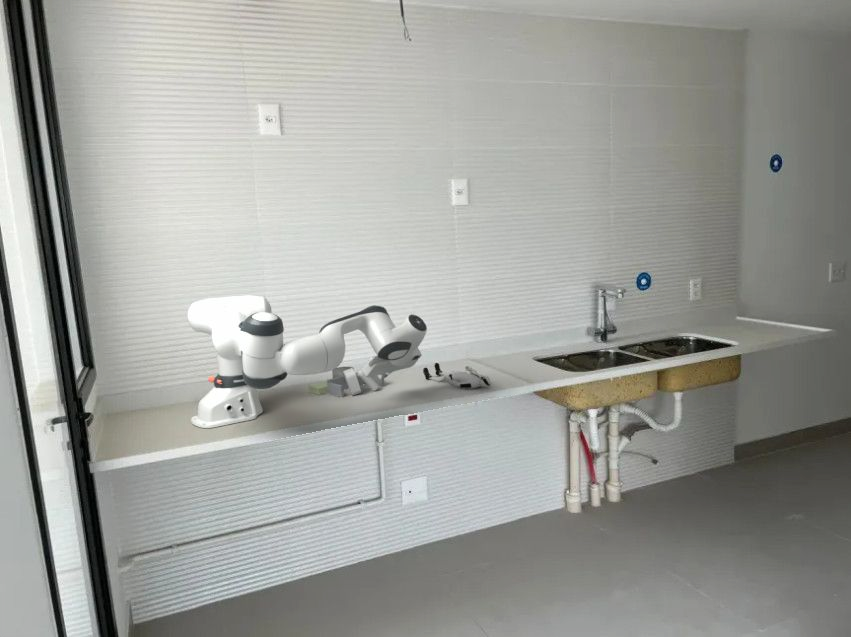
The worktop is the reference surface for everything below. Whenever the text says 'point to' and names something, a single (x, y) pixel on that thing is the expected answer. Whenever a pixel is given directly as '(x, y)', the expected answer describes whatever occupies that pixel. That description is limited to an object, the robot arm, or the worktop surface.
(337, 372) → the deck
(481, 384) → the figurine
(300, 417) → the worktop surface
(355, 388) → the wall hook
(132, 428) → the worktop surface
